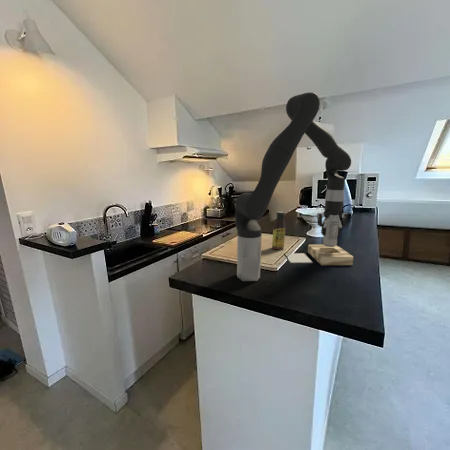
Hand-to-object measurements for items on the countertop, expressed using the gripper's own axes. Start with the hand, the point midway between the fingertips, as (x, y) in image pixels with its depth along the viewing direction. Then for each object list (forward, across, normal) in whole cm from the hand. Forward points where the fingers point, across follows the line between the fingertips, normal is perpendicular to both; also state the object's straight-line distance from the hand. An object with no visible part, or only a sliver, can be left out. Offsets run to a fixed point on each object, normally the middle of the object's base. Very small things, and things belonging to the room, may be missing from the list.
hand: (330, 235), depth 122 cm
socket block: (+11, 0, 0) cm, 11 cm away
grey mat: (+12, -15, 0) cm, 19 cm away
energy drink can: (+5, 0, 0) cm, 5 cm away
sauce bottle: (+12, -21, +15) cm, 28 cm away
